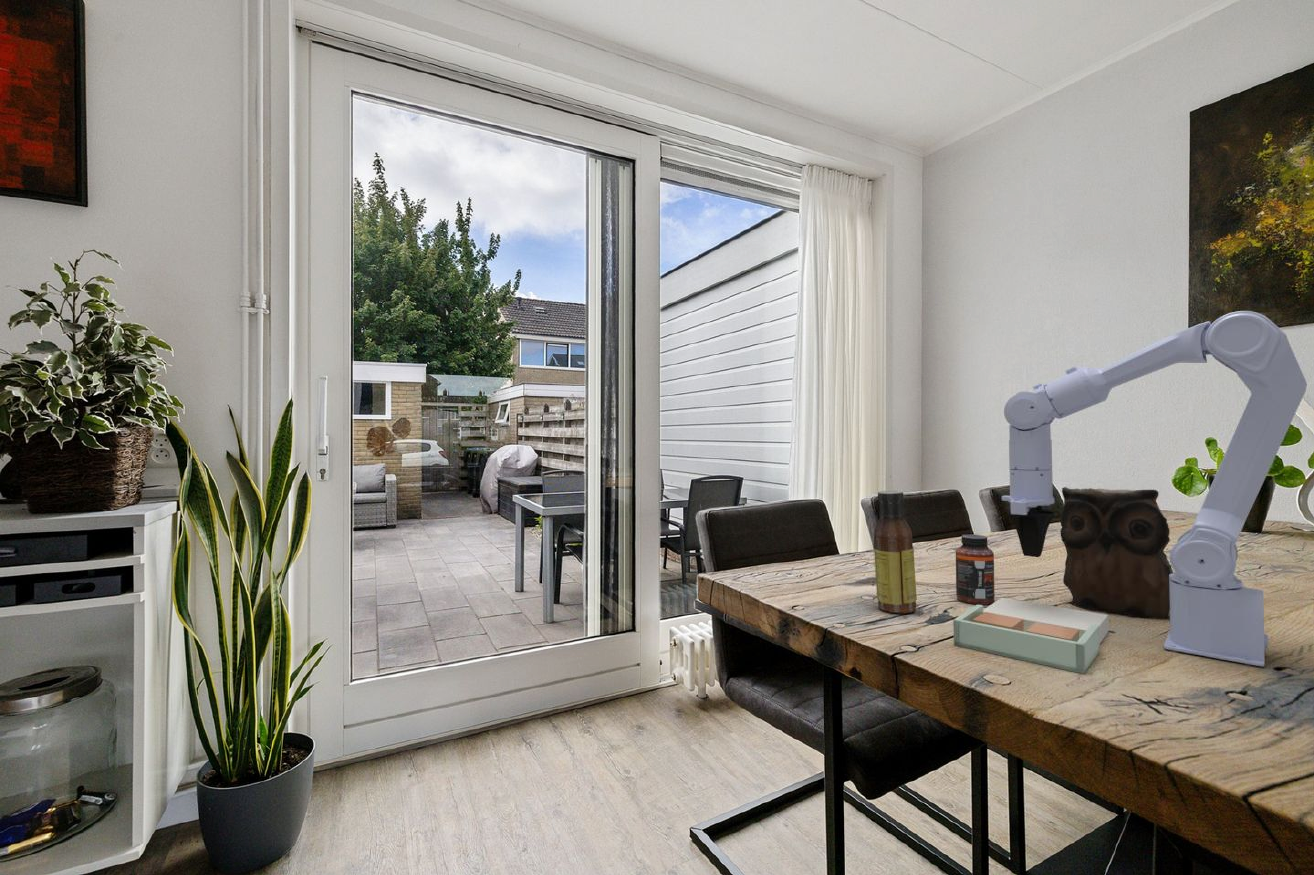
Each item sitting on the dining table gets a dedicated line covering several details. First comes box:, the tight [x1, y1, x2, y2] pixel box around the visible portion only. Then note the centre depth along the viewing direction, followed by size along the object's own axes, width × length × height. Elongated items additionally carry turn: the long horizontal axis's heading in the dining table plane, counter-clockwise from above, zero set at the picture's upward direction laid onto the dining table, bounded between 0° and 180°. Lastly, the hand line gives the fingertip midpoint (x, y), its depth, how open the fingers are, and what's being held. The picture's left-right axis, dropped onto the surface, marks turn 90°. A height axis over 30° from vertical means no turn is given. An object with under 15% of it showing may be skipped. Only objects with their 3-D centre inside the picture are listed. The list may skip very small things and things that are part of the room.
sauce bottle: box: [873, 490, 918, 615], centre depth 101 cm, size 6×6×20 cm
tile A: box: [1026, 622, 1079, 642], centre depth 80 cm, size 5×5×2 cm
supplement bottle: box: [955, 534, 995, 605], centre depth 105 cm, size 6×6×11 cm
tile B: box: [973, 612, 1024, 632], centre depth 85 cm, size 5×5×2 cm
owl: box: [1059, 486, 1174, 620], centre depth 98 cm, size 13×13×20 cm
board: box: [983, 597, 1109, 645], centre depth 89 cm, size 14×10×2 cm
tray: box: [952, 604, 1100, 675], centre depth 82 cm, size 15×10×4 cm, turn 45°
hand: (1032, 555), depth 94 cm, fingers closed
